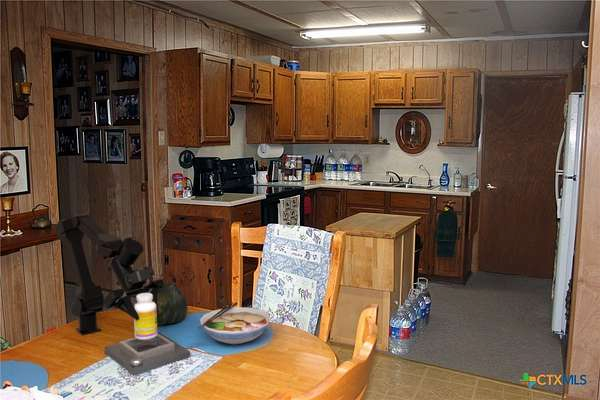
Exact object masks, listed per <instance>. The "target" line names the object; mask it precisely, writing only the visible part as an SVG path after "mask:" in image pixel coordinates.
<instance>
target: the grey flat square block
mask: <svg viewBox="0 0 600 400" xmlns="http://www.w3.org/2000/svg"><path fill="white" fill-rule="evenodd" d="M104 354H105V355H107V356H108V357H109V358H110V359H112V360H113V361H114V362H115V363H117V364H118V365H119V366H120V367H122V368H123V369H124V370H126V371H127V372H128V373H129V374H131V375H132V376H137V375H139V374H142V373H145V372H148V371H149V372H150V371H152V370H155V369H158V367H159V368H161V366H162V367H164V365H165V366H168V365H171V364H174V363H177V362H176V361H178V362H180V360H181V361H183V359H184V360H186V358H187V359H190V358H191V350H189V349H187V348H186V347H185V346H183V345H181V344H179V343H177V342H176V341H174V340H173V339H171V338H169V337H167V336H166V335H164V334H163V333H161V332H158V331H157V336H156V337H154V338H152V339H148V340H139V339H137V338H136V337H133V338H129V339H126V340H121V341H119V342H117V343H115V344H110V345H107V346H104ZM189 357H190V358H189ZM173 362H174V363H173ZM170 363H171V364H170ZM167 364H168V365H167Z"/></svg>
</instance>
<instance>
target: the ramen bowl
mask: <svg viewBox="0 0 600 400" xmlns="http://www.w3.org/2000/svg"><path fill="white" fill-rule="evenodd" d="M237 305H238V302H233V301H230V302H229V303H228V304H227V305H225V306H224V307H223V308H221V309H219V308H218V309H215V310H212V311H210V312H207V313H204V315H202V317H201V318H200V319H199V320H200V324H201V325H200V326H199V327H198V329H199V330H200V329H203V330H204V331H205V332H206V334H207V335H209V336H210V337H211V338H213V339H214V340H216V341H217V342H220V343H225V344H228V345H234V346H235V345H241V344H244V343H247V342H250V341H253V340H255V339H256V338H258V337H259V336H261V335H262V334H263V333H264V332H265V330H266V328H267V327H268V325H269V324H270V321H271V320H272V318H271V316H270V314H269V313H268V312H266V311H264V310H262V309H259V308H258V309H257V308H254V307H241V306H238V307H236V306H237Z"/></svg>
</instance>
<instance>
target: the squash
mask: <svg viewBox="0 0 600 400" xmlns="http://www.w3.org/2000/svg"><path fill="white" fill-rule="evenodd" d="M165 284H166V285H165V286H164V287H163V289H162V290H161V291H160V292H159V293H158V294H157V302H158V310H159V312H158V314H157V326H161V327H162V326H165V325H166V324H168V325H171V324H175V323H179V322H182V321H183V320H184V319H185V318H186V317H187V314H188V309H189V308H188V301H187V297H186V296H185V294H184V293H183V292H182V290H180V287H179V286H178V285H177V284H176V283H175V282H169V283H165Z"/></svg>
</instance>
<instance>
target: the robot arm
mask: <svg viewBox="0 0 600 400" xmlns="http://www.w3.org/2000/svg"><path fill="white" fill-rule="evenodd" d="M54 230H55V232H56V234H57V237H58V240H59V241H60V242H61V243H62V244H64V245H65V246H66V248H67V252H68V256H69V259H70V263H71V267H72V270H73V274H74V278H75V282H76V285H77V289H76V292H75V296H74V297H75V302H74V304H73V305H72V307H71V314H72V315H73V316H75V317H76V318H78V327H76V328H75V331H76V332H77V333H78V334H80V335H82V336H84V335H88V334H92V333H95V332H100V331H102V328H101V327H99V326H98V317H97V316H98V313H99V312H103V310H104V307H105V309H112V308H114V309H115V310H120V311H121V312H123V313H126V314H127V315H129V317H131V318H133V320H134V319H136V320H138V319H139V316H138V313H137V312H136V310H135V308H134V304H133V302H132V297H135V296H137V295H138V294H141V293H151V294H152V295H153V299H152V302H154V303H155V304H156V310H157V314H158V312H159V310H158V302H157V294H158V293H159V292H160V291H161V290H162V289H163V287H164V286H165V285H166V284H167V283H166V282H165V281H164V279H163V278H160V277H159V278H156V279H152V277H153V276H154V275H155V271H154V268H153V267H152V265H148V266H147V265H146V266H145V267H143V269H142V270H138V269H135V268H134V267H133V265H134V264H135V263H136V262H137V261H138V259H139V258H140V256H141V255H142V254H143V253H144V246H143V244H142V243H141V242H139V241H137V240H135V239H133V237H131V236H130V237H129V236H128V237H125V238H124V239H121V238H120V237H118V236H117V235H113V234H110V233H108V232H106V230H103V228H102V227H100V225H98V224H97V223H96V222H95V221H94V220H93V219H92V218H91V216H90V215H89V214H77V215H76V214H75V215H74V216H72V217H70V218H67V219H62V220H58V221H57V223H56V224H55V227H54ZM84 236H86V237H87V238H88V239H89V240H90V241H91V242H92V243H93V244H94V245H95V248H96V249H95V252H97V254H98V255H99V256H100V258H101V259H103V260H108V259H112V260H111V261H109V262H108V265H107V271H108V272H109V271H112V272H113V274H114V276H115V278H116V280H117V281H116V285H117V287H119V286H120V287H121V288H117V289H114V290H110V291H109V292H108V294H107V295H106V297H104V296H105V295H104V294H103V291H102V286H101V285H100V284H99V285H97V284H96V283H94V281H93V277H92V274H91V271H90V267H89V263H88V259H87V255H86V253H85V249H84V246H83V239H84ZM147 280H150V282H149V283H147ZM146 283H147V285H145V284H146ZM144 285H145V286H144Z"/></svg>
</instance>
